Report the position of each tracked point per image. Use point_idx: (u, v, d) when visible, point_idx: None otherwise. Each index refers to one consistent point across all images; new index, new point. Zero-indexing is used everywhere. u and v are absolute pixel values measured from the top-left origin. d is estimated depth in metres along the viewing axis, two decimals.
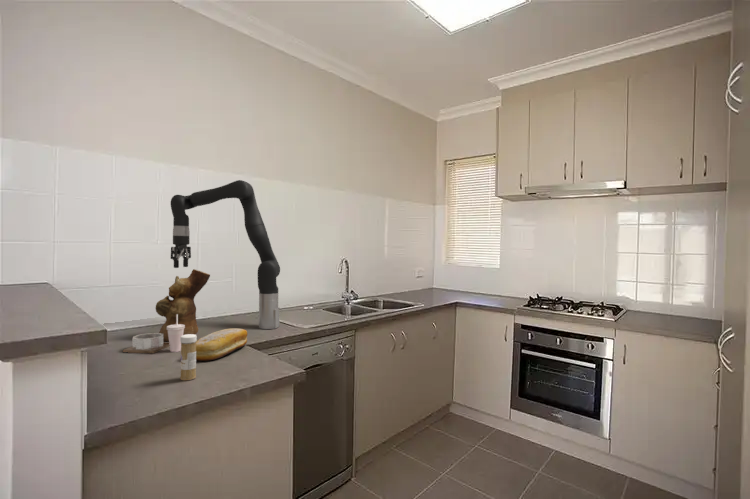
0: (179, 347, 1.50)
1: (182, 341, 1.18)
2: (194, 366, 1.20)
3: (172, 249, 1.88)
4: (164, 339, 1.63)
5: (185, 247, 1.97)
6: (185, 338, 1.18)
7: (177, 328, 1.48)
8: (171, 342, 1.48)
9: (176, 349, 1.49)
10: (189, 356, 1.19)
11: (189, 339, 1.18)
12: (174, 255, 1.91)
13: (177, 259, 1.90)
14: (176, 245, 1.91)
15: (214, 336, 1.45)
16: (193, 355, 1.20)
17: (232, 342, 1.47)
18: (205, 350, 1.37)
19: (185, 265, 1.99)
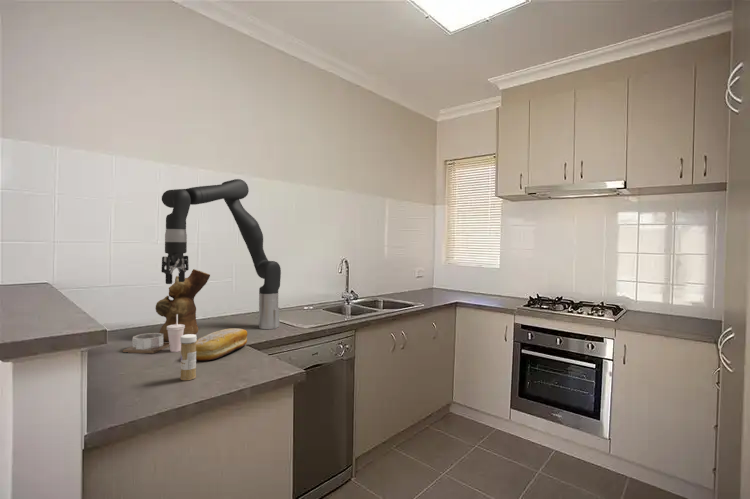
0: (179, 347, 1.50)
1: (182, 341, 1.18)
2: (194, 366, 1.20)
3: (164, 260, 1.43)
4: (164, 339, 1.63)
5: (181, 257, 1.52)
6: (185, 338, 1.18)
7: (177, 328, 1.48)
8: (171, 342, 1.48)
9: (176, 349, 1.49)
10: (189, 356, 1.19)
11: (189, 339, 1.18)
12: (166, 267, 1.46)
13: (170, 273, 1.45)
14: (169, 254, 1.46)
15: (213, 336, 1.45)
16: (193, 355, 1.20)
17: (231, 342, 1.47)
18: (204, 350, 1.37)
19: (181, 280, 1.54)
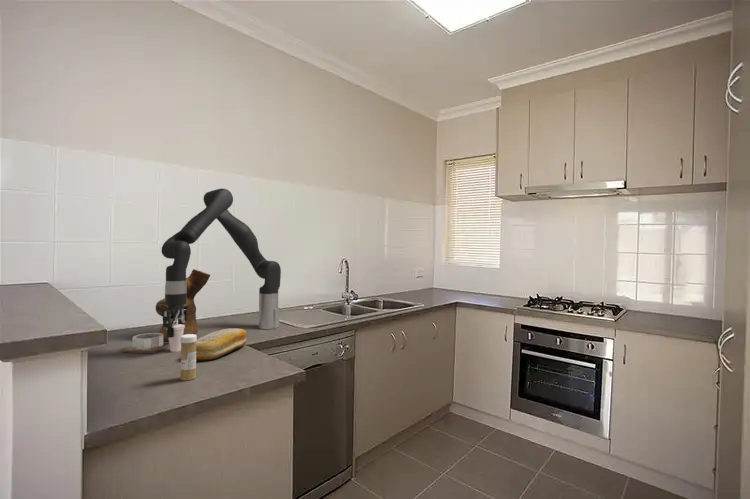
0: (179, 347, 1.50)
1: (182, 341, 1.18)
2: (194, 366, 1.20)
3: (164, 315, 1.44)
4: (164, 339, 1.63)
5: (181, 307, 1.52)
6: (185, 338, 1.18)
7: (177, 328, 1.48)
8: (171, 342, 1.48)
9: (176, 349, 1.49)
10: (189, 356, 1.19)
11: (189, 339, 1.18)
12: (167, 321, 1.47)
13: (172, 327, 1.46)
14: (169, 307, 1.47)
15: (213, 336, 1.45)
16: (193, 355, 1.20)
17: (230, 342, 1.47)
18: (203, 350, 1.37)
19: None
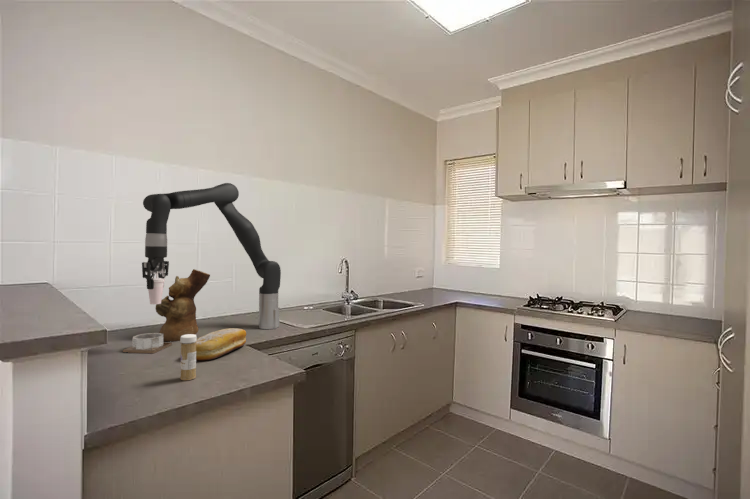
0: (159, 300, 1.50)
1: (182, 341, 1.18)
2: (194, 366, 1.20)
3: (144, 266, 1.44)
4: (164, 339, 1.63)
5: (161, 261, 1.53)
6: (185, 338, 1.18)
7: (157, 280, 1.49)
8: (151, 294, 1.49)
9: (156, 301, 1.50)
10: (189, 356, 1.19)
11: (189, 339, 1.18)
12: (147, 273, 1.47)
13: (151, 278, 1.47)
14: (149, 258, 1.47)
15: (212, 336, 1.45)
16: (193, 355, 1.20)
17: (230, 342, 1.47)
18: (202, 350, 1.37)
19: None
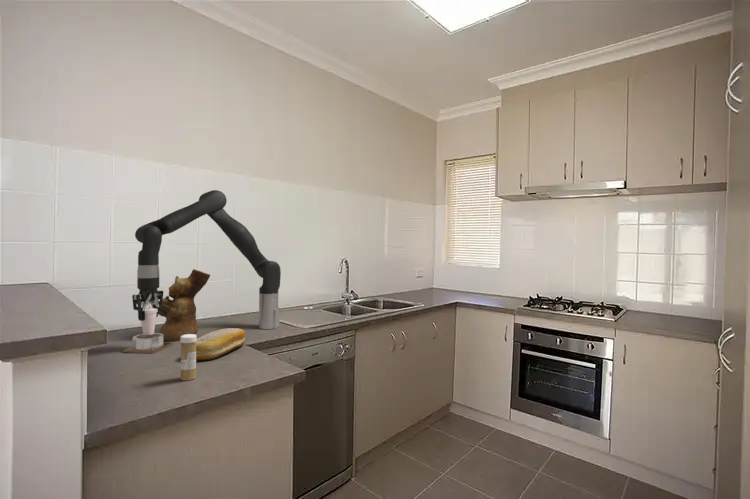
0: (151, 330, 1.52)
1: (182, 341, 1.18)
2: (194, 366, 1.20)
3: (134, 298, 1.46)
4: (164, 339, 1.63)
5: (154, 291, 1.54)
6: (185, 338, 1.18)
7: (148, 312, 1.50)
8: (143, 325, 1.51)
9: (148, 332, 1.51)
10: (189, 356, 1.19)
11: (189, 339, 1.18)
12: None
13: (142, 310, 1.48)
14: (140, 290, 1.49)
15: (211, 336, 1.45)
16: (193, 355, 1.20)
17: (229, 342, 1.47)
18: (202, 350, 1.37)
19: None
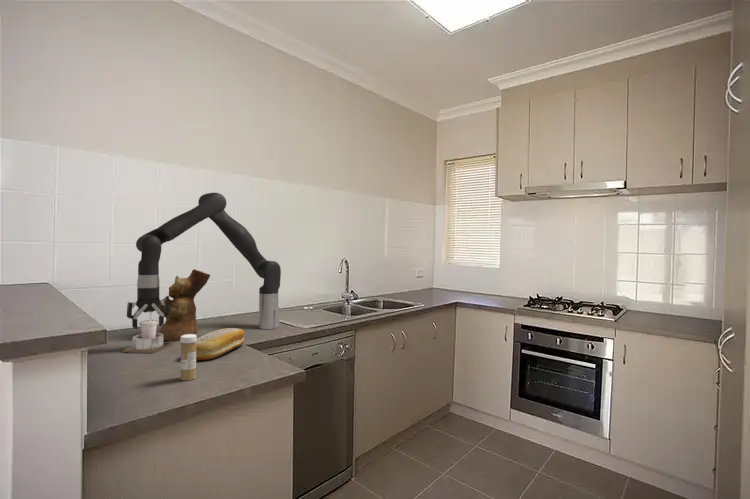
0: None
1: (182, 341, 1.18)
2: (194, 366, 1.20)
3: (127, 305, 1.48)
4: (164, 339, 1.63)
5: (155, 301, 1.53)
6: (185, 338, 1.18)
7: (143, 324, 1.50)
8: (142, 337, 1.51)
9: None
10: (189, 356, 1.19)
11: (189, 339, 1.18)
12: (135, 312, 1.50)
13: (133, 318, 1.48)
14: (137, 300, 1.50)
15: (211, 336, 1.45)
16: (193, 355, 1.20)
17: (229, 342, 1.47)
18: (202, 350, 1.37)
19: (159, 324, 1.55)
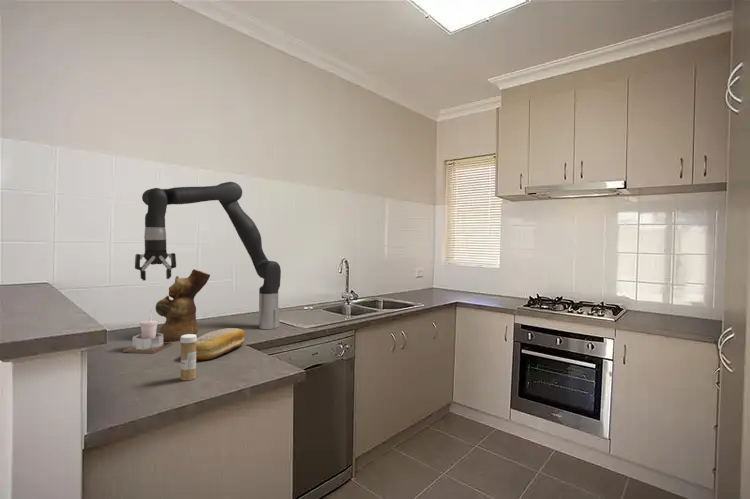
0: None
1: (182, 341, 1.18)
2: (194, 366, 1.20)
3: (135, 257, 1.50)
4: (164, 339, 1.63)
5: (162, 254, 1.55)
6: (185, 338, 1.18)
7: (143, 324, 1.50)
8: (142, 337, 1.51)
9: None
10: (189, 356, 1.19)
11: (189, 339, 1.18)
12: (143, 264, 1.52)
13: (141, 270, 1.50)
14: None
15: (210, 336, 1.45)
16: (193, 355, 1.20)
17: (228, 342, 1.47)
18: (201, 349, 1.37)
19: (167, 277, 1.57)
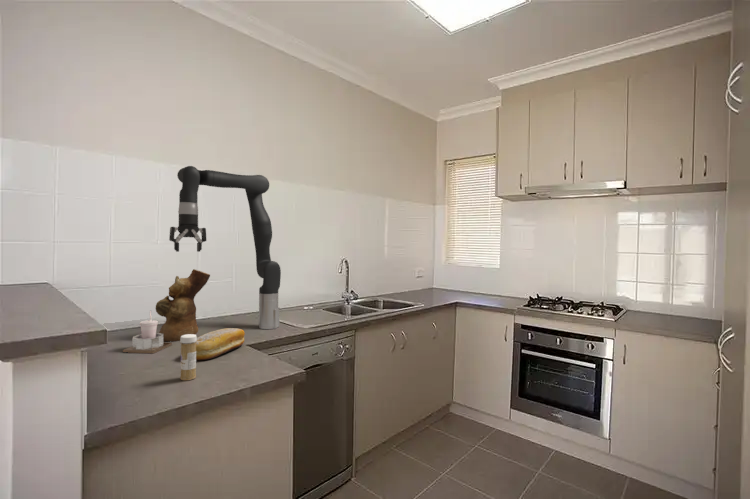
0: None
1: (182, 341, 1.18)
2: (194, 366, 1.20)
3: (170, 229, 1.62)
4: (164, 339, 1.63)
5: (194, 228, 1.66)
6: (185, 338, 1.18)
7: (143, 324, 1.50)
8: (142, 337, 1.51)
9: None
10: (189, 356, 1.19)
11: (189, 339, 1.18)
12: None
13: (175, 241, 1.62)
14: None
15: (209, 336, 1.45)
16: (193, 355, 1.20)
17: (227, 342, 1.47)
18: (199, 349, 1.37)
19: (197, 249, 1.69)
